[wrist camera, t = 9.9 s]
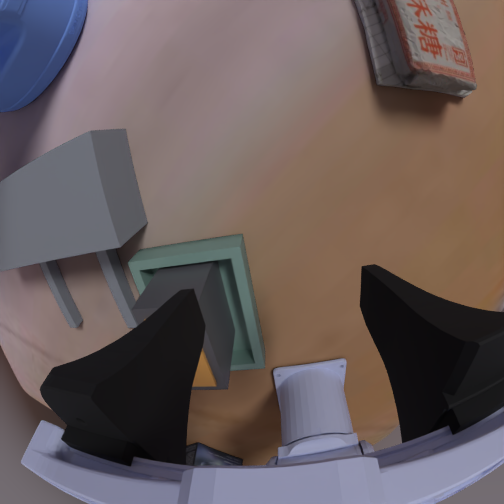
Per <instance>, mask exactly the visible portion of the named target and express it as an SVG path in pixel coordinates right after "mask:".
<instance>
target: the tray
mask: <svg viewBox="0 0 504 504" xmlns="http://www.w3.org/2000/svg"><path fill="white" fill-rule="evenodd" d="M214 260H218V264H219V268H220V272H221V276H222V280H223V284H224V288H225V292H226V296H227V300H228V304H229V308H230V311H231V315H232V319H233V323H234V327H235V338H234V345H233V353H232V361H231V369H230V371H233V370H249V369H261V368H265V347H264V342H263V337H262V332H261V327H260V322H259V317H258V311H257V306H256V301H255V296H254V291H253V286H252V280H251V275H250V270H249V265H248V260H247V254H246V249H245V244H244V239H243V234H237V235H230V236H223V237H217V238H210V239H203V240H197V241H190V242H184V243H178V244H171V245H165V246H159V247H153V248H146V249H140V250H139V251H138V252H137V253H136V254H135V255H134V256H133V257H132V258H131V259H130V261H129V262H128V265H129V268H130V270H131V273H132V276H133V278H134V281H135V284H136V286H137V289H138V291H139V294H140V296H141V294H142V292H143V291H144V289H145V288H146V286H147V285H148V284H149V282H150V281H151V279H152V278H153V276H154V275H155V273H156V272H157V270H158V269H159V268H161V267H169V266H177V265H184V264H192V263H199V262H207V261H214Z"/></svg>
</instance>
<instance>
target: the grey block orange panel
mask: <svg viewBox="0 0 504 504" xmlns="http://www.w3.org/2000/svg"><path fill="white" fill-rule="evenodd" d="M193 288H194V291H195V294H196V297H197V300H198V303H199V306H200V309H201V313H202V316H203V319H204V322H205V324H206V327H205V336H204V344H203V348H202V352H201V355H200V359H199V363H198V366H197V370H196V374H195V378H194V381H193V385H192V390H219V389H228V384H229V376H230V369H231V361H232V353H233V345H234V338H235V327H234V323H233V319H232V315H231V311H230V308H229V304H228V300H227V296H226V292H225V288H224V284H223V280H222V276H221V272H220V268H219V264H218V260H214V261H207V262H199V263H192V264H184V265H177V266H169V267H161V268H159V269H158V270H157V272H156V273H155V275H154V276H153V278H152V279H151V281H150V282H149V284H148V285H147V286H146V288H145V289H144V291H143V292H142V294H141V296H140V297H139V299H138V300H137V302H136V303H135V305H134V306H133V308H132V309H131V310H132V312H133V314H134V317H135V319H136V321H137V323H138V325H139V324H141V323H142V322H143V321H144V320H145V319H147V318H148V317H149V316H150V315H152V314H153V313H154V312H155V311H156V310H157V309H158V308H160V307H161V306H162V305H163V304H164V303H165V302H166V301H168V300H169V299H170V298H171V297H172V296H173V295H175V294H176V293H177V292H178V291H180V290H183V289H193Z"/></svg>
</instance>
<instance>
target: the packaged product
mask: <svg viewBox="0 0 504 504" xmlns="http://www.w3.org/2000/svg"><path fill="white" fill-rule="evenodd" d="M355 4H356V7H357V9H358V13H359V16H360V18H361V21H362V23H363V26H364V29H365V34H366V39H367V44H368V48H369V52H370V57H371V61H372V65H373V70H374V74H375V78H376V84H377V85H383V86H392V87H401V88H408V89H415V90H427V91H436V92H441V93H446V94H450V95H455V96H459V97H463V98H465V97H466V96H468V95H469V94H470V93H472V90H475V89H476V87H477V84H476V81H475V75H474V68H473V63H472V59H471V54H470V52H469V48H468V44H467V40H466V37H465V33H464V31H463V28H462V24H461V21H460V18H459V15H458V12H457V9H456V7H455V5H454V2H453V0H355Z"/></svg>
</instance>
